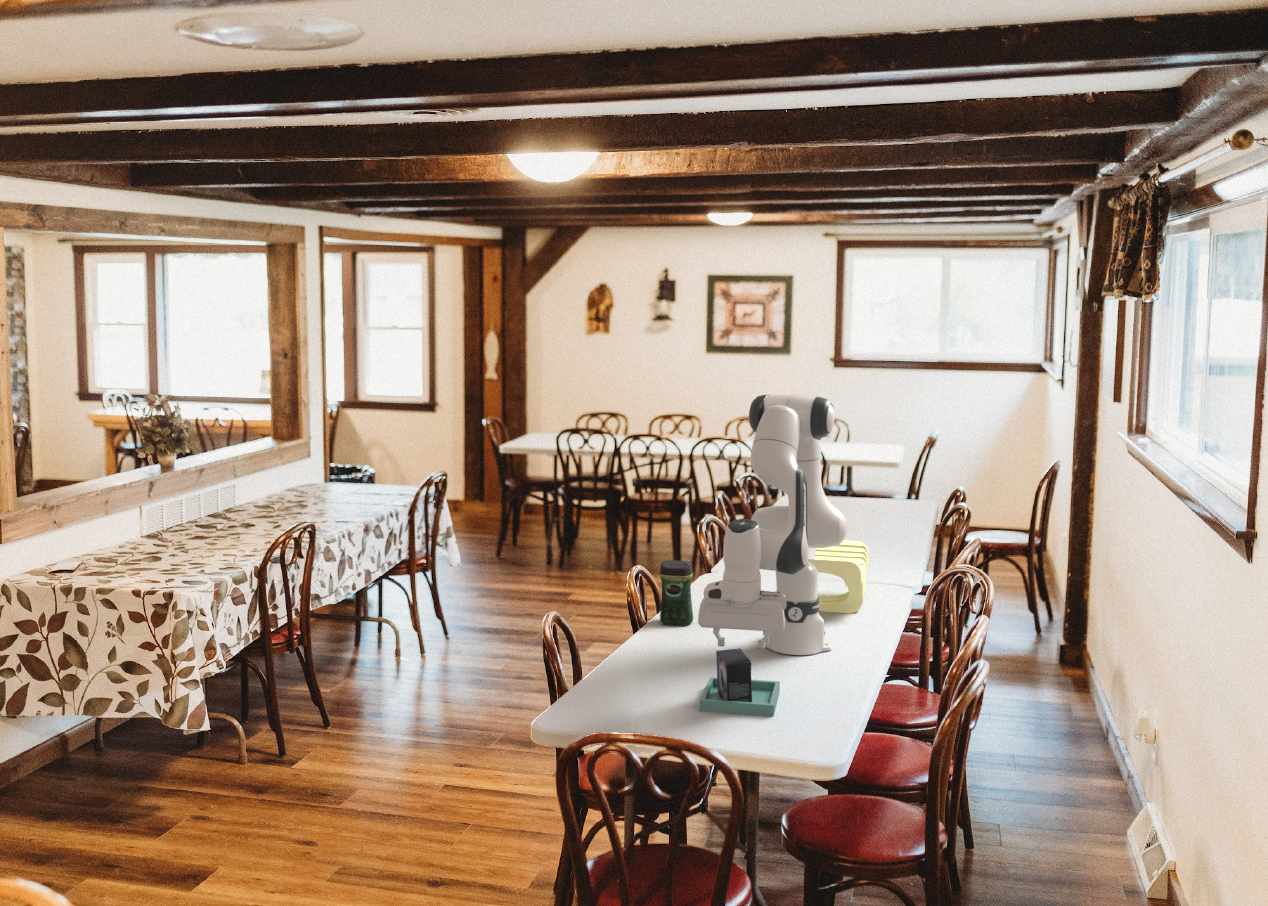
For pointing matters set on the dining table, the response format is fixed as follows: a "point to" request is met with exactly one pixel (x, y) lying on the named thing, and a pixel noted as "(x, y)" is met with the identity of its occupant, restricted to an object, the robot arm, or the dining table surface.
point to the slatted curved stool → (843, 574)
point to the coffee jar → (676, 593)
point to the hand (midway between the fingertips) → (741, 646)
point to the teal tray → (761, 702)
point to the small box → (734, 675)
